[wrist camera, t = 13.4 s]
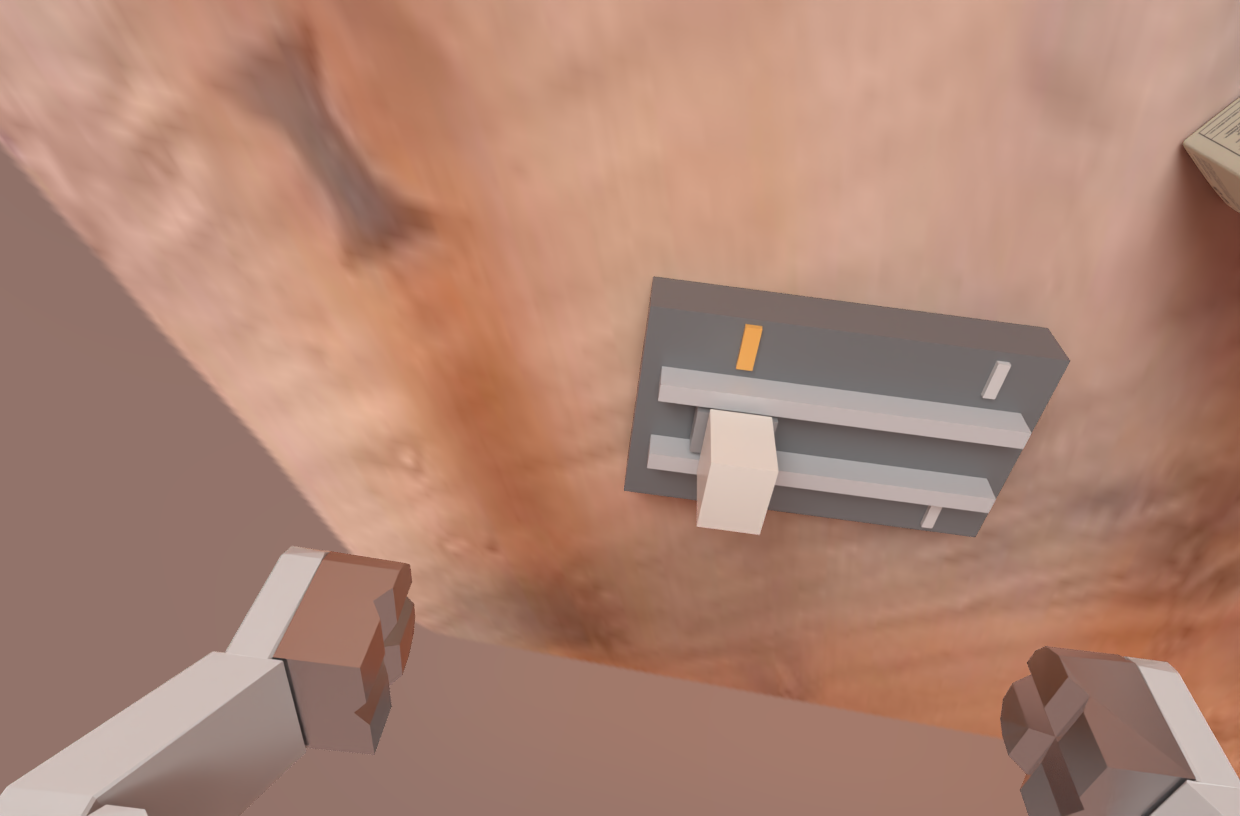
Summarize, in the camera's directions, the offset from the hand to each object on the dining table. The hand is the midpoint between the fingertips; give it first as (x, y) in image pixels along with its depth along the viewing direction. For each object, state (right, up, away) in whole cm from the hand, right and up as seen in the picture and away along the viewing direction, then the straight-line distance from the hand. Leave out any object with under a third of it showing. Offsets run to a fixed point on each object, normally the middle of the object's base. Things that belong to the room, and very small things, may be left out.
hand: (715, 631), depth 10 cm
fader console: (+10, +3, +33) cm, 34 cm away
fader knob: (+5, +2, +30) cm, 31 cm away
